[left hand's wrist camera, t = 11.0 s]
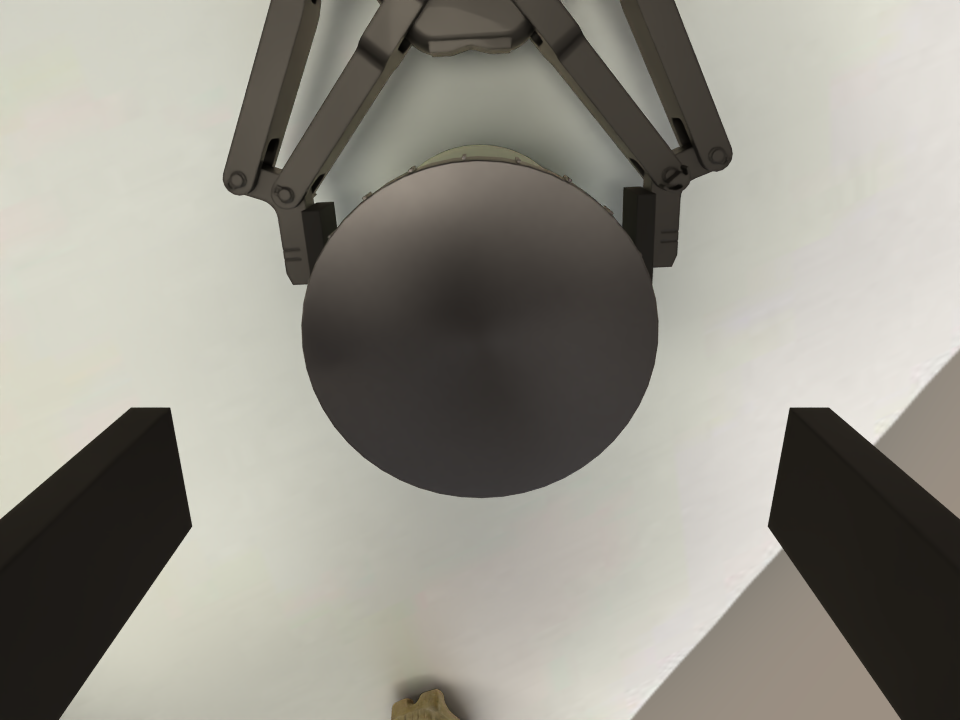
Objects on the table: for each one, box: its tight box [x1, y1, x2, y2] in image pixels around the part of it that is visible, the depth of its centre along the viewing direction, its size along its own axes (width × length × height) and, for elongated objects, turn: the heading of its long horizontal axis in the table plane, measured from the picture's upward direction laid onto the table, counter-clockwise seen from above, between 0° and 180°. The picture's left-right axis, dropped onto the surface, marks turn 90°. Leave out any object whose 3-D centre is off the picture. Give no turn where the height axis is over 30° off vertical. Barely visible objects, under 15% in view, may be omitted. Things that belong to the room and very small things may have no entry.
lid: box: [301, 154, 658, 498], centre depth 21 cm, size 11×11×2 cm
